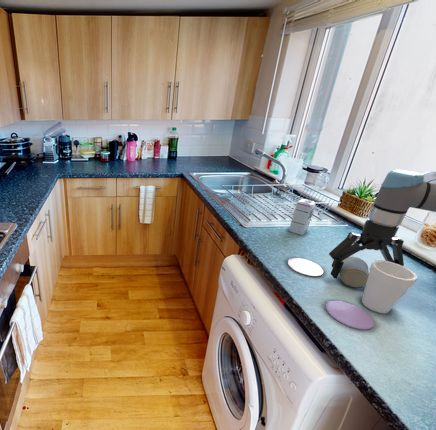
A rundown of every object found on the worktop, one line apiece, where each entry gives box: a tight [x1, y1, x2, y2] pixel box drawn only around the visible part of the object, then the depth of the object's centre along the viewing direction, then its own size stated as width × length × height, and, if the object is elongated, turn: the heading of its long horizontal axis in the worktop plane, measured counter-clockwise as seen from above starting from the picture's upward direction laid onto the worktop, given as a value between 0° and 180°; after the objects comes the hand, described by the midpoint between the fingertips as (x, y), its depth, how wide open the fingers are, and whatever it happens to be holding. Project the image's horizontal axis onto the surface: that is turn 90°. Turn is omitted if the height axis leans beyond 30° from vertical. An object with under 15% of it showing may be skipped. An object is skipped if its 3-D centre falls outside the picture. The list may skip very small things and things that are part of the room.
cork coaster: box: [287, 257, 324, 278], centre depth 103 cm, size 11×11×1 cm
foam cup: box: [361, 259, 418, 314], centre depth 83 cm, size 10×9×13 cm
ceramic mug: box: [339, 256, 369, 288], centre depth 93 cm, size 11×8×8 cm
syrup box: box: [288, 198, 317, 236], centre depth 125 cm, size 6×6×14 cm
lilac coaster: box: [325, 300, 375, 331], centre depth 82 cm, size 11×11×1 cm
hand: (355, 279), depth 95 cm, fingers open, 13 cm apart
